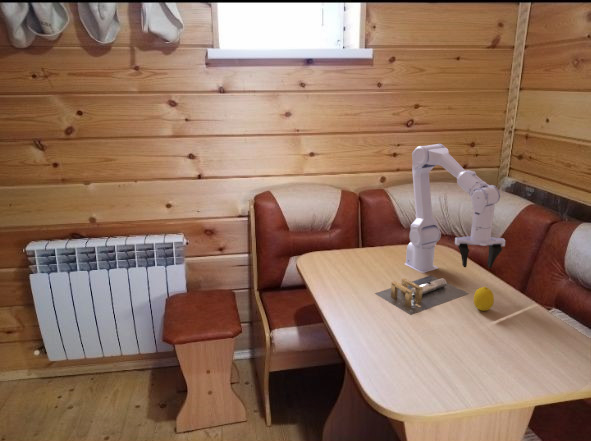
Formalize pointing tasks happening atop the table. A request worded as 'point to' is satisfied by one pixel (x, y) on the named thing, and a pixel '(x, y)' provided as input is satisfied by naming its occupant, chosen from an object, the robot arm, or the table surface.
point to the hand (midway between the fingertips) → (476, 266)
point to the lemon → (483, 298)
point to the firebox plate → (419, 295)
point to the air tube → (431, 286)
